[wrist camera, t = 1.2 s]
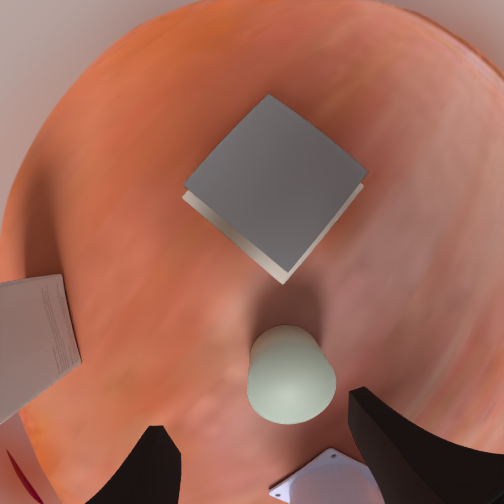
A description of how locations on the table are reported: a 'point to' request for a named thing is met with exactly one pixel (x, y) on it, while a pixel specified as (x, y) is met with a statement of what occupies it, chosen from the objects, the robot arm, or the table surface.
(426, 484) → the robot arm
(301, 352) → the green cylinder
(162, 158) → the table surface
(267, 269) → the base block
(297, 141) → the top block
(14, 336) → the skincare box
